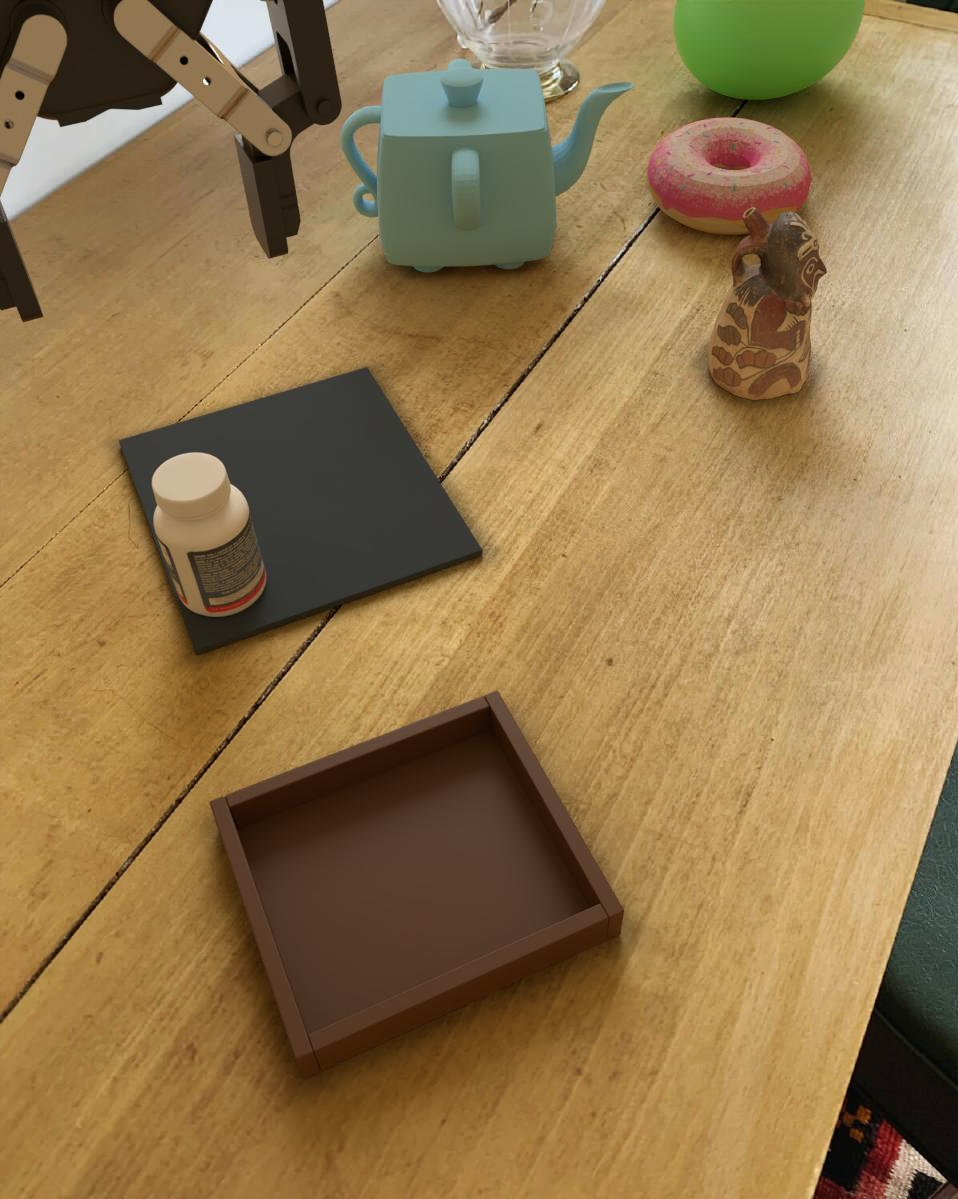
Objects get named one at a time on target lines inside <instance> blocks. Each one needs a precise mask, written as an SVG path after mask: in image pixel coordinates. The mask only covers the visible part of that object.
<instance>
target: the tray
mask: <svg viewBox="0 0 958 1199" xmlns="http://www.w3.org/2000/svg"><path fill="white" fill-rule="evenodd" d="M209 807H210V809H211V813H212V815H213V818H214V821H215V824H216V828H217V830H218V833H219V836H220V840H221V842H222V845H223V848H224V851H225V854H226V857H227V861H228V862H229V866H230V869H231V872H232V876H233V878H234V881H235V883H236V887H237V890H238V892H239V896H240V898H241V902H242V904H243V908H244V910H245V913H246V916H247V920H248V922H249V925H250V928H251V931H252V934H253V937H254V940H255V944H256V946H257V949H258V952H259V955H260V958H261V961H262V964H263V967H264V971H265V974H266V977H267V979H268V984H269V985H270V989H271V991H272V994H273V997H274V1001H275V1004H276V1006H277V1009H278V1012H279V1016H280V1018H281V1021H282V1025H283V1028H284V1030H285V1034H286V1037H287V1039H288V1042H289V1045H290V1048H291V1051H292V1054H293V1057H294V1060H295V1062H296V1065H297V1066H298V1069H299V1071H300V1073H301V1075H302V1078H303V1079H304V1080H306V1079H308V1078H310V1077H313V1076H315V1075H318V1074H319V1073H321V1072H323V1071H326V1070H328V1069H330V1068H332V1067H334V1066H337V1065H338V1064H342V1063H344V1062H345V1061H348V1060H349V1059H352V1058H354V1057H356V1056H358V1055H360V1054H363V1053H365V1052H367V1051H369V1050H371V1049H374V1048H376V1047H378V1046H380V1045H382V1044H384V1043H387V1042H389V1041H391V1040H393V1039H395V1038H398V1037H400V1036H402V1035H404V1034H406V1033H408V1032H411V1031H412V1030H415V1029H417V1028H419V1027H422V1026H423V1025H426V1024H428V1023H430V1022H433V1021H435V1020H438V1019H439V1018H441V1017H443V1016H445V1015H448V1014H450V1013H452V1012H454V1011H456V1010H459V1009H461V1008H462V1007H465V1006H467V1005H469V1004H472V1003H473V1002H476V1001H478V1000H480V999H482V998H484V997H486V996H487V997H488V996H489V995H491V994H493V993H495V992H498V991H500V990H502V989H505V988H506V987H508V986H510V985H513V984H515V983H517V982H519V981H521V980H524V979H526V978H528V977H530V976H532V975H534V974H536V973H538V972H541V971H544V970H545V969H548V968H550V967H552V966H553V965H556V964H558V963H561V962H563V961H565V960H567V959H569V958H571V957H574V956H575V955H578V954H580V953H582V952H584V951H586V950H588V949H591V948H593V947H595V946H597V945H600V944H602V943H604V942H607V941H608V940H611V939H613V938H615V937H617V936H620V935H621V934H622V933H621V932H622V926H623V920H624V916H625V915H624V914H625V909H624V908H623V906H622V903H621V902H620V900H619V899H618V897H617V895H616V893H615V891H614V890H613V888H612V886H611V885H610V883H609V881H608V879H607V878H606V876H605V875H604V873H603V871H602V869H601V867H600V866H599V864H598V862H597V861H596V859H595V857H594V856H593V854H592V851H591V850H590V849H589V847H588V845H587V843H586V841H585V839H584V838H583V836H582V835H581V832H580V831H579V828H577V826H576V824H575V822H574V820H573V819H572V817H571V815H570V813H569V812H568V810H567V808H566V807H565V805H564V803H563V801H562V800H561V797H560V796H559V795H558V793H557V791H556V789H555V787H554V786H553V784H552V782H551V780H550V779H549V777H548V775H547V773H546V772H545V770H544V768H543V767H542V765H541V764H540V762H539V760H538V758H537V756H536V754H535V752H534V751H533V749H532V747H531V746H530V744H529V742H528V741H527V739H526V736H525V735H524V734H523V732H522V730H521V729H520V726H519V725H518V723H517V721H516V720H515V718H514V716H513V714H512V713H511V711H510V709H509V708H508V705H507V704H506V702H505V701H504V698H503V697H502V696H501V694H500V692H499V690H494V691H491V692H489V693H485V694H484V695H482V696H479V697H476V698H474V699H472V700H468V701H466V702H463V703H460V704H458V705H456V706H453V707H450V708H448V709H446V710H442V711H440V712H438V713H434V714H432V715H430V716H427V717H424V718H422V719H419V720H417V721H413V722H412V723H409V724H406V725H404V726H401V727H398V728H396V729H393V730H391V731H388V732H386V733H383V734H379V735H378V736H375V737H372V738H370V739H367V740H364V741H362V742H359V743H357V744H354V745H351V746H349V747H347V748H343V749H341V750H339V751H337V752H333V753H331V754H328V755H326V756H324V757H320V758H318V759H316V760H313V761H310V762H308V763H305V764H303V765H300V766H298V767H294V768H292V769H289V770H287V771H284V772H282V773H279V774H276V775H274V776H271V777H269V778H266V779H264V780H261V781H258V782H256V783H253V784H251V785H248V786H245V787H243V788H240V789H238V790H235V791H232V792H230V793H227V794H225V795H222V796H220V797H217V798H214V799H211V800H210V801H209Z"/></svg>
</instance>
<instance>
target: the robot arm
mask: <svg viewBox="0 0 958 1199" xmlns="http://www.w3.org/2000/svg"><path fill="white" fill-rule="evenodd" d="M213 1H214V0H0V198H1V197H2V194H3V191H4V189H5V186H6V183H7V181H8V178H9V176H10V173H11V170H12V169H13V167H16V166H18V164H19V163H20V161H21V159H22V156H23V154H24V152H25V148H26V145H27V143H28V141H29V138H30V136H31V132H32V130H33V127H34V126H35V122H36V119H37V118H40V119H44V120H49V121H57V123H58V125H59V128H63V127H67V126H72V125H73V126H74V125H78V124H82V123H86V122H88V121H90V120H92V119H94V118H95V117H97V116H99V115H101V114H103V113H105V112H107V111H109V110H127V111H140V110H146V109H149V108H154V107H160V106H163V100H162V98H163V97H164V96H166V95H167V94H169V93H170V92H171V91H172V90H174V88H175V87H176V86H177V85H180V86H181V87H182V88H183V89H185V90H186V91H187V92H188V93H189V94H190V95H192V96H193V97H194V99H196V100H197V101H199V102H200V103H201V105H203V106H204V107H206V109H208V110H209V111H210V112H211V113H212V114H214V115H215V116H216V117H217V118H219V119H220V120H224V121H225V122H226V123H228V125H230V126H231V127H232V128H233V129H234V130H235V131H237V132H238V133H235V134H233V139H234V143H235V148H236V154H237V159H238V163H239V168H240V174H241V178H242V183H243V189H244V194H245V199H246V204H247V208H248V214H249V218H250V223H251V228H252V231H253V234H254V236H255V238H256V241H257V242H258V244H259V246H260V247H261V249H262V250H263V252H264V254H265V255H266V257H267V259H268V260H270V259H274V258H278V257H281V256H285V255H288V254H289V244H288V240H287V238H290V237H295V236H298V234H299V231H300V227H301V226H300V225H301V221H302V219H301V215H300V207H299V201H298V195H297V189H296V183H295V176H294V169H293V164H292V159H291V149H292V145H293V142H294V141H295V140H296V138H297V137H298V136H299V134H301V133H302V132H304V131H305V130H307V129H308V128H310V127H311V126H313V125H318V126H327V125H330V124H332V123H334V122H335V121H336V120H337V119H338V118H339V116H340V114H341V112H342V106H343V103H342V97H341V90H340V85H339V80H338V75H337V74H338V73H337V70H336V69H337V68H336V65H335V60H334V52H333V48H332V47H333V46H332V43H331V36H330V31H329V26H328V25H329V24H328V20H327V14H326V9H325V3H324V0H259V1H261V2H264V3H265V4H266V8H267V9H266V10H267V12H268V17H269V21H270V26H271V30H272V31H271V32H272V36H273V40H274V45H275V50H276V54H277V58H278V63H279V67H280V71H281V76H279V77H278V78H276V79H275V80H273V81H272V82H270V83H269V84H267V85H265V86H264V87H263V88H260V87H259V86H257V84H256V83H255V82H254V81H252V80H251V78H249V77H247V75H246V74H244V73H243V71H241V69H239V68H238V67H237V66H236V65H235V64H234V63H233V62H232V61H231V60H230V59H228V58H227V56H226V55H225V54H224V53H223V52H222V51H221V50H220V49H219V47H217V46H216V45H215V44H214V43H213V41H211V40H210V39H209V38H208V37H207V36H206V35H205V34H204V33H202V32H201V30H202V29H203V25H204V23H205V21H206V19H207V17H208V13H209V11H210V9H211V7H212V4H213ZM37 295H38V294H37V292H36V289H35V287H34V284H33V281H32V279H31V276H30V273H29V271H28V269H27V265H26V263H25V261H24V257H23V255H22V252H21V250H20V247H19V245H18V242H17V239H16V237H15V235H14V231H13V229H12V226H11V224H10V221H9V219H8V216H7V214H6V211H5V208H4V205H3V203H2V201H1V199H0V311H6V310H8V309H9V310H10V309H12V308H16V309H17V312H18V315H19V318H20V319H21V322H22V323H26V322H30V321H34V320H39V319H42V318H45V317H44V313H43V310H42V307H41V304H40V302H39V299H38V298H39V297H38V296H37Z"/></svg>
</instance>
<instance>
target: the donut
mask: <svg viewBox="0 0 958 1199" xmlns="http://www.w3.org/2000/svg"><path fill="white" fill-rule="evenodd" d="M646 170H647V171H646V183H647V187H648V190H649V192H650V195H651V197H652V200H653V202H655V204H656V205H657V207H658V208H659V209H660V210H661V211H662V212H663V213H664V214H665V215H667V216H668V217H670V218H671V219H673V220H675V221H677V222H678V223H679V224H681V225H683V226H685V227H688V228H691V229H693V230H695V231H700V232H704V233H708V234H716V235H747V234H748V235H749V232H748V230H747V228H746V226H745V223H744V221H743V214H744V213H745V211H747V210H748V209H750V208H752V207H756V208H757V209H758V211H759V212H760V213H761V215H762V216H763V217H764V218H765V220H766V221H767V222H768V223H769V224H773V223H774V222H775V220H776V219H777V217H778V216H779V215H780V214H781V213H783V212H787V211H791V212H795V213H797V214H798V212H799V211H800V210H801V208H802V207H803V206H804V204H805V203H806V202H807V200H808V197H809V192H810V189H811V184H812V178H813V177H812V172H811V168H810V164H809V159H808V156H806V154H805V150H803V149H802V148H801V147H800V145H799V143H797V142H796V141H794V139H792V138H791V137H790V136H789V135H787V134H786V133H785V132H783V131H782V130H780V129H777V128H776V127H773V126H772V125H769V124H766V123H764V122H760V121H757V120H752V119H749V118H742V117H713V118H705V119H701V120H696V121H693V122H691V123H688V124H685V125H683V126H681V127H679V128H677V129H675V130H673V131H672V132H671V133H669V134H667V135H666V136H665V137H664V138H662V140H660V141H659V142H658V144H657V145H656V147H655V149H654V150H653V152H652V154H651V156H650V157H649V159H648V162H647V168H646Z"/></svg>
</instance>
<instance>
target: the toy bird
mask: <svg viewBox="0 0 958 1199" xmlns="http://www.w3.org/2000/svg"><path fill="white" fill-rule="evenodd" d="M865 6H866V0H675V5H674V10H673V20H672V21H673V24H672V27H673V36H674V41H675V45H676V48H677V51H678V53H679V55H680V58H681V60H682V62H683V64H684V65H685V67H686V68H687V70H688V71H689V72H690V73H691V75H692V76H693V77H694V78H695V79H696V80H697V81H698V82H700V83H701V84H702V85H704V86H705V87H706V88H708V89H710V90H712V91H713V92H716V93H718V94H720V95H723V96H725V97H728V98H733V99H738V100H746V101H747V100H748V101H762V100H772V99H778V98H782V97H786V96H789V95H792V94H796V93H798V92H800V91H804V90H805V89H808V87H810V86H812V85H814V84H816V83H817V82H819V81H820V80H822V79H823V78H824V77H826V76H827V75H828V74H829V73H830V72H831V71H832V70H834V69H835V68H836V66H838V64H839V63H840V62H841V61H842V60H843V59H844V57H845V56H846V54H847V53H848V51H849V50H850V49H851V47H852V45H853V43H854V42H855V40H856V37H857V35H858V33H859V30H860V27H861V25H862V21H863V17H864V12H865V8H866V7H865Z"/></svg>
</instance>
